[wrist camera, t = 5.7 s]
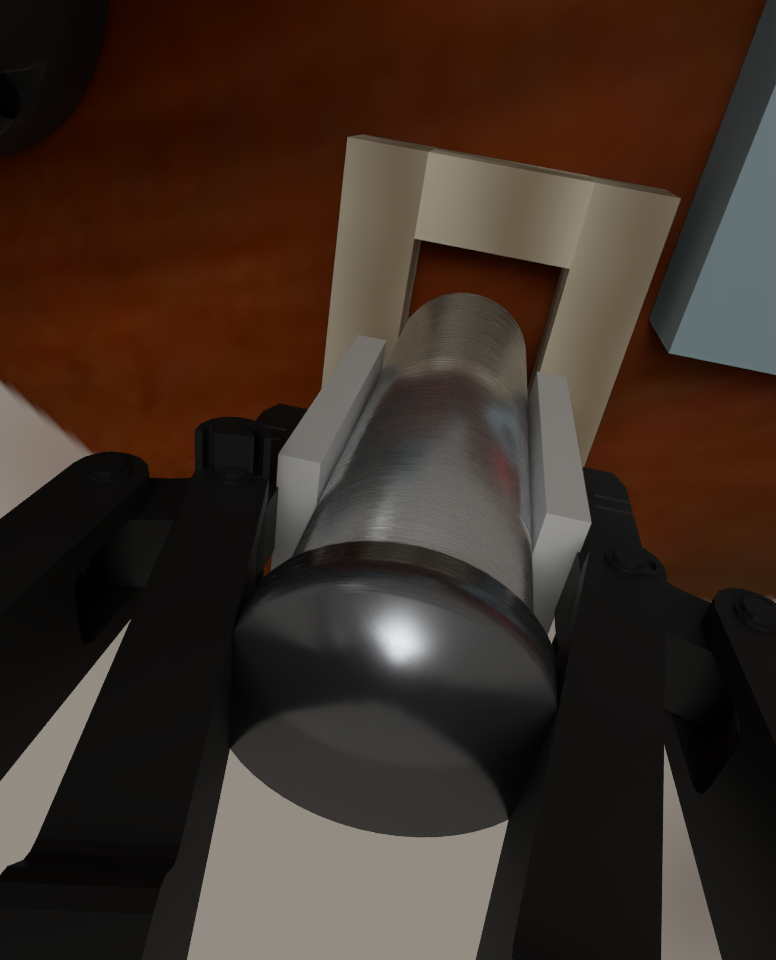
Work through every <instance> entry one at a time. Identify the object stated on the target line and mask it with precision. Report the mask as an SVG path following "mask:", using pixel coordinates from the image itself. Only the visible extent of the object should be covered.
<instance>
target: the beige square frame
mask: <svg viewBox="0 0 776 960" xmlns="http://www.w3.org/2000/svg"><path fill="white" fill-rule="evenodd" d="M680 200H681V198H679V197H678V196H676V195H674V194H672V193H671V192H669V191H667V190H664V189H659V188H654V187H648V186H643V185H637V184H632V183H626V182H621V181H615V180H610V179H605V178H599V177H594V176H588V175H583V174H577V173H572V172H566V171H561V170H556V169H550V168H545V167H539V166H534V165H528V164H523V163H517V162H512V161H507V160H501V159H496V158H490V157H485V156H479V155H474V154H468V153H463V152H458V151H452V150H447V149H441V148H436V147H430V146H425V145H419V144H414V143H409V142H403V141H398V140H392V139H387V138H381V137H376V136H370V135H365V134H362V135H356V136H351V137H348V138H347V148H346V157H345V167H344V177H343V186H342V196H341V206H340V215H339V225H338V234H337V244H336V254H335V263H334V273H333V283H332V292H331V302H330V312H329V321H328V331H327V341H326V350H325V360H324V370H323V379H322V388H323V386H324V385H325V383H326V382H327V380H328V379H329V377H330V376H331V374H332V373H333V371H334V370H335V368H336V367H337V365H338V364H339V362H340V361H341V359H342V358H343V356H344V355H345V353H346V352H347V350H348V349H349V347H350V346H351V344H352V343H353V341H354V340H355V338H356V337H357V335H362V336H367V337H372V338H377V339H382V340H386V347H385V353H384V360H383V366H382V371H383V369H384V367H385V365H386V363H387V361H388V359H389V357H390V355H391V353H392V351H393V349H394V347H395V345H396V343H397V341H398V339H399V337H400V335H401V332H402V330H403V328H404V327H405V325H406V323H407V321H408V316H409V310H410V304H411V298H412V292H413V286H414V280H415V275H416V269H417V263H418V257H419V251H420V245H421V240H424V241H429V242H435V243H440V244H445V245H450V246H455V247H460V248H465V249H470V250H476V251H481V252H486V253H491V254H496V255H501V256H506V257H511V258H517V259H522V260H527V261H532V262H537V263H542V264H547V265H552V266H558V267H562V269H561V273H560V276H559V280H558V283H557V287H556V290H555V294H554V297H553V301H552V304H551V308H550V311H549V315H548V318H547V322H546V325H545V329H544V332H543V336H542V339H541V343H540V346H539V350H538V353H537V357H536V360H535V364H534V367H533V371H532V374H531V378H530V381H529V385H528V388H527V403H528V401H529V398H530V394H531V391H532V387H533V384H534V381H535V377H536V374H537V371H538V372H543V373H548V374H552V375H557V376H562V377H567V382H568V388H569V394H570V400H571V405H572V411H573V417H574V423H575V429H576V435H577V441H578V447H579V452H580V458H581V464H582V467H584V465H585V463H586V460H587V457H588V454H589V452H590V449H591V446H592V443H593V441H594V438H595V435H596V432H597V430H598V427H599V424H600V421H601V418H602V416H603V413H604V410H605V407H606V405H607V402H608V399H609V396H610V394H611V391H612V388H613V385H614V382H615V380H616V377H617V374H618V371H619V369H620V366H621V363H622V360H623V358H624V355H625V352H626V349H627V346H628V344H629V341H630V338H631V335H632V333H633V330H634V327H635V324H636V322H637V319H638V316H639V313H640V310H641V308H642V305H643V302H644V299H645V297H646V294H647V291H648V288H649V286H650V283H651V280H652V277H653V274H654V272H655V269H656V266H657V263H658V261H659V258H660V255H661V252H662V250H663V247H664V244H665V241H666V239H667V236H668V233H669V230H670V227H671V225H672V222H673V219H674V216H675V214H676V211H677V208H678V205H679V203H680Z"/></svg>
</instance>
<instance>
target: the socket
mask: <svg viewBox="0 0 776 960" xmlns="http://www.w3.org/2000/svg"><path fill="white" fill-rule="evenodd" d="M649 321H650V323H651V324H652V326H653V328H654V329H655V331H656V333H657V334H658V336H659V338H660V340H661V341H662V343H663V345H664V346H665V348H666V350H667V351H668V353H670V354H675V355H680V356H685V357H690V358H695V359H700V360H705V361H710V362H715V363H720V364H725V365H730V366H734V367H739V368H744V369H749V370H754V371H759V372H764V373H769V374H774V375H776V0H767V1H766V4H765V7H764V9H763V12H762V15H761V17H760V20H759V23H758V25H757V28H756V31H755V34H754V36H753V39H752V42H751V44H750V47H749V50H748V52H747V55H746V58H745V61H744V63H743V66H742V69H741V71H740V74H739V77H738V79H737V82H736V85H735V88H734V90H733V93H732V96H731V98H730V101H729V104H728V106H727V109H726V112H725V114H724V117H723V120H722V123H721V125H720V128H719V131H718V133H717V136H716V139H715V141H714V144H713V147H712V150H711V152H710V155H709V158H708V160H707V163H706V166H705V168H704V171H703V174H702V177H701V179H700V182H699V185H698V187H697V190H696V193H695V195H694V198H693V201H692V204H691V206H690V209H689V212H688V214H687V217H686V220H685V222H684V225H683V228H682V230H681V233H680V236H679V239H678V241H677V244H676V247H675V249H674V252H673V255H672V257H671V260H670V263H669V266H668V268H667V271H666V274H665V276H664V279H663V282H662V284H661V287H660V290H659V293H658V295H657V298H656V301H655V303H654V306H653V309H652V311H651V314H650V317H649Z"/></svg>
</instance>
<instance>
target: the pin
mask: <svg viewBox="0 0 776 960" xmlns="http://www.w3.org/2000/svg"><path fill="white" fill-rule="evenodd" d="M558 693H559V677H558V665H557V661H556V657H555V653H554V649H553V647H552V644H551V642H550V640H549V638H548V635H547V633H546V631H545V630H544V628H543V627H542V625H541V624H540V622H539V621H538V619H537V617H536V616H535V615H534V600H533V567H532V534H531V501H530V469H529V436H528V403H527V370H526V347H525V342H524V337H523V335H522V332H521V329H520V328H519V326H518V324H517V322H516V321H515V319H514V318H513V317H512V315H511V314H510V313H509V312H508V311H507V310H506V309H505V308H503V307H502V306H501V305H499V304H498V303H496V302H494V301H493V300H491V299H489V298H486V297H484V296H480V295H477V294H471V293H452V294H447V295H443V296H440V297H437V298H435V299H432V300H431V301H429V302H427V303H425V304H424V305H423V306H421V307H420V308H419V309H418V310H417V311H416V312H415V313H414V314H413V315H412V316H411V317H410V319H409V320H408V321H407V323H406V325H405V327H404V328H403V330H402V332H401V335H400V337H399V339H398V341H397V343H396V345H395V347H394V349H393V351H392V353H391V355H390V357H389V359H388V361H387V363H386V365H385V367H384V369H383V371H382V373H381V375H380V377H379V379H378V381H377V383H376V385H375V388H374V390H373V392H372V394H371V396H370V398H369V400H368V402H367V404H366V406H365V408H364V410H363V412H362V414H361V416H360V418H359V420H358V422H357V424H356V426H355V428H354V430H353V432H352V434H351V436H350V438H349V441H348V443H347V445H346V447H345V449H344V451H343V453H342V455H341V457H340V459H339V461H338V463H337V465H336V467H335V469H334V471H333V473H332V475H331V477H330V479H329V481H328V483H327V485H326V487H325V489H324V491H323V494H322V496H321V498H320V500H319V502H318V504H317V506H316V508H315V510H314V512H313V514H312V516H311V518H310V520H309V522H308V524H307V526H306V528H305V530H304V532H303V534H302V536H301V538H300V540H299V542H298V544H297V547H296V549H295V551H294V553H293V555H292V557H291V558H290V559H288V560H287V561H285V562H283V563H282V564H280V565H279V566H277V567H276V568H274V569H273V570H272V571H270V572H269V573H268V574H267V575H266V576H265V577H264V578H262V579H261V580H260V582H259V583H258V584H257V585H256V587H255V588H254V589H253V590H252V591H251V593H250V595H249V596H248V598H247V600H246V602H245V604H244V606H243V608H242V610H241V612H240V614H239V617H238V620H237V622H236V625H235V628H234V630H233V636H232V674H231V713H230V749H231V750H232V751H233V753H234V754H235V755H236V757H237V758H238V759H239V760H240V762H241V763H243V765H244V766H246V768H247V769H248V770H249V771H250V772H251V773H252V774H253V775H255V776H256V777H257V778H258V779H259V780H261V781H262V782H263V783H264V784H266V785H267V786H268V787H269V788H271V789H272V790H274V791H275V792H277V793H278V794H280V795H281V796H283V797H284V798H286V799H288V800H289V801H291V802H293V803H295V804H296V805H298V806H300V807H302V808H304V809H306V810H308V811H310V812H312V813H315V814H317V815H319V816H321V817H324V818H327V819H329V820H332V821H335V822H337V823H340V824H344V825H347V826H350V827H354V828H357V829H361V830H366V831H371V832H375V833H381V834H388V835H395V836H407V837H442V836H452V835H460V834H465V833H470V832H475V831H479V830H482V829H485V828H489V827H492V826H495V825H497V824H499V823H502V822H504V821H506V820H509V818H510V816H511V814H512V811H513V809H514V807H515V805H516V803H517V800H518V798H519V796H520V794H521V791H522V789H523V787H524V785H525V782H526V780H527V778H528V776H529V773H530V771H531V769H532V767H533V764H534V762H535V760H536V758H537V755H538V753H539V751H540V749H541V746H542V744H543V742H544V740H545V737H546V735H547V733H548V731H549V728H550V726H551V724H552V722H553V719H554V717H555V715H556V713H557V709H558Z"/></svg>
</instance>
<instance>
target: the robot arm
mask: <svg viewBox="0 0 776 960" xmlns="http://www.w3.org/2000/svg"><path fill="white" fill-rule="evenodd" d="M107 12H108V0H0V158H3V157H7V156H11V155H14V154H17V153H20V152H22V151H24V150H27V149H29V148H31V147H33V146H34V145H36V144H38V143H39V142H41V141H43V140H44V139H45V138H47V137H48V136H49V135H50V134H52V133H53V132H54V131H55V130H56V129H57V128H58V127H59V126H60V125H61V124H62V123H63V122H64V121H65V120H66V118H67V117H68V116H69V115H70V114H71V112H72V111H73V109H74V108H75V107H76V105H77V104H78V102H79V100H80V99H81V97H82V95H83V93H84V92H85V90H86V88H87V86H88V83H89V81H90V79H91V77H92V74H93V71H94V69H95V66H96V63H97V60H98V57H99V53H100V50H101V46H102V41H103V37H104V32H105V26H106V19H107ZM385 347H386V340H382V339H377V338H372V337H367V336H362V335H357V337H356V338H355V340H354V341H353V343H352V344H351V346H350V347H349V349H348V350H347V352H346V353H345V355H344V356H343V358H342V359H341V361H340V362H339V364H338V365H337V367H336V368H335V370H334V371H333V373H332V374H331V376H330V377H329V379H328V380H327V382H326V383H325V385H324V386H323V388H322V389H321V391H320V392H319V394H318V395H317V397H316V398H315V400H314V401H313V403H312V404H311V406H310V407H309V409H308V410H307V409H302V408H298V407H293V406H288V405H284V404H278V405H276V406H273V407H271V408H269V409H267V410H265V411H263V412H262V413H261V415H260V416H259V417H258V418H257V420H256V421H254V420H250V419H245V418H241V417H221V418H215V419H211V420H208V421H206V422H204V423H201V424H200V425H199V426H198V427H197V428H196V429H195V472H194V475H193V477H191V478H181V479H166V478H149V471H148V465H147V464H146V463H145V462H144V461H143V460H142V459H141V458H139V457H136V456H134V455H131V454H127V453H119V452H101V453H97V454H93V455H89V456H86V457H84V458H82V459H80V460H78V461H76V462H74V463H73V464H72V465H70V466H69V467H68V468H66V469H65V470H64V471H62V472H61V473H60V474H58V475H57V476H56V477H54V478H53V479H52V480H51V481H49V482H48V483H47V484H45V485H44V486H43V487H41V488H40V489H39V490H37V491H36V492H35V493H34V494H32V495H31V496H30V497H28V498H27V499H26V500H24V501H23V502H22V503H20V504H19V505H18V506H17V507H15V508H14V509H13V510H11V511H10V512H9V513H7V514H6V515H5V516H3V517H2V518H1V519H0V781H1V779H2V778H3V777H4V776H5V775H6V773H7V772H8V771H9V770H10V768H11V767H12V766H13V765H14V763H15V762H16V761H17V760H18V758H19V757H20V756H21V754H22V753H23V752H24V751H25V750H26V748H27V747H28V746H29V745H30V743H31V742H32V741H33V740H34V738H35V737H36V736H37V735H38V733H39V732H40V731H41V730H42V729H43V727H44V726H45V725H46V723H47V722H48V721H49V720H50V719H51V717H52V716H53V715H54V714H55V712H56V711H57V710H58V709H59V707H60V706H61V705H62V704H63V702H64V701H65V700H66V699H67V697H68V696H69V695H70V694H71V693H72V691H73V690H74V689H75V688H76V686H77V685H78V684H79V683H80V681H81V680H82V679H83V677H84V676H85V675H86V674H87V673H88V671H89V670H90V669H91V668H92V666H93V665H94V664H95V663H96V661H97V660H98V659H99V658H100V656H101V655H102V654H103V653H104V652H105V650H106V649H107V648H108V647H109V645H110V644H111V643H112V642H113V640H114V639H115V638H116V637H117V635H118V634H119V633H120V632H121V630H122V629H123V628H124V627H125V625H126V624H127V623H128V622H129V620H130V619H131V621H130V623H129V625H128V628H127V630H126V632H125V635H124V637H123V639H122V642H121V644H120V646H119V649H118V651H117V654H116V656H115V658H114V660H113V663H112V665H111V667H110V670H109V672H108V674H107V677H106V679H105V681H104V683H103V686H102V688H101V690H100V693H99V695H98V697H97V700H96V702H95V704H94V707H93V709H92V711H91V714H90V716H89V719H88V721H87V723H86V725H85V728H84V730H83V732H82V735H81V737H80V739H79V742H78V744H77V746H76V748H75V751H74V753H73V755H72V758H71V760H70V762H69V765H68V767H67V770H66V772H65V774H64V776H63V779H62V781H61V784H60V786H59V788H58V791H57V793H56V795H55V797H54V800H53V802H52V804H51V806H50V809H49V811H48V814H47V816H46V818H45V821H44V823H43V825H42V827H41V830H40V832H39V834H38V837H37V839H36V841H35V843H34V845H33V847H32V849H31V851H30V852H29V853H28V855H27V856H26V857H25V859H24V860H22V861H20V862H17V863H15V864H12V865H9V866H7V868H6V869H5V870H4V871H3V872H2V874H1V875H0V960H187V956H188V951H189V946H190V941H191V936H192V932H193V927H194V922H195V917H196V912H197V907H198V902H199V897H200V892H201V887H202V883H203V877H204V873H205V868H206V863H207V858H208V853H209V848H210V843H211V838H212V833H213V828H214V823H215V818H216V814H217V809H218V804H219V799H220V793H221V789H222V784H223V779H224V774H225V770H226V764H227V760H228V755H229V750H230V713H231V674H232V636H233V630H234V628H235V625H236V622H237V620H238V617H239V614H240V612H241V610H242V608H243V606H244V604H245V602H246V600H247V598H248V596H249V595H250V593H251V591H252V590H253V589H254V588H255V587H256V585H257V584H258V583H259V582H260V580H261V579H262V578H263V576H264V567H265V565H266V563H267V561H268V559H269V558H270V556H271V554H272V559H271V571H272V570H273V569H274V568H276V567H277V566H279V565H280V564H282V563H283V562H285V561H287V560H288V559H290V558H291V557H292V555H293V553H294V551H295V549H296V547H297V544H298V542H299V540H300V538H301V536H302V534H303V532H304V530H305V528H306V526H307V524H308V522H309V520H310V518H311V516H312V514H313V512H314V510H315V508H316V506H317V504H318V502H319V500H320V498H321V496H322V494H323V491H324V489H325V487H326V485H327V483H328V481H329V479H330V477H331V475H332V473H333V471H334V469H335V467H336V465H337V463H338V461H339V459H340V457H341V455H342V453H343V451H344V449H345V447H346V445H347V443H348V441H349V438H350V436H351V434H352V432H353V430H354V428H355V426H356V424H357V422H358V420H359V418H360V416H361V414H362V412H363V410H364V408H365V406H366V404H367V402H368V400H369V398H370V396H371V394H372V392H373V390H374V388H375V385H376V383H377V381H378V379H379V377H380V375H381V373H382V366H383V360H384V353H385ZM528 436H529V469H530V501H531V534H532V567H533V600H534V615H535V616H536V617H537V619H538V621H539V622H540V624H541V625H542V627H543V628H544V630H545V631H546V633H547V635H548V632H549V630H550V627H551V624H552V622H553V620H554V617H555V630H556V634H555V637H554V639H553V642H552V647H553V649H554V653H555V657H556V661H557V665H558V677H559V693H558V709H557V713H556V715H555V717H554V719H553V722H552V724H551V726H550V728H549V731H548V733H547V735H546V737H545V740H544V742H543V744H542V746H541V749H540V751H539V753H538V755H537V758H536V760H535V762H534V764H533V767H532V769H531V771H530V773H529V776H528V778H527V780H526V782H525V785H524V787H523V789H522V791H521V794H520V796H519V798H518V800H517V803H516V805H515V807H514V809H513V811H512V814H511V816H510V818H509V821H508V825H507V829H506V834H505V838H504V842H503V846H502V850H501V855H500V859H499V863H498V867H497V872H496V876H495V880H494V885H493V889H492V893H491V897H490V901H489V906H488V910H487V915H486V919H485V923H484V927H483V931H482V935H481V940H480V944H479V948H478V952H477V957H476V960H661V923H662V922H661V921H662V919H661V918H662V853H663V849H662V848H663V782H664V780H663V779H664V775H663V774H664V745H665V749H666V752H667V756H668V760H669V763H670V767H671V771H672V775H673V779H674V782H675V786H676V789H677V793H678V797H679V801H680V805H681V808H682V812H683V816H684V820H685V823H686V827H687V831H688V834H689V838H690V842H691V846H692V849H693V853H694V857H695V861H696V864H697V868H698V872H699V875H700V879H701V882H702V887H703V890H704V894H705V897H706V902H707V905H708V909H709V913H710V916H711V920H712V923H713V927H714V931H715V935H716V939H717V943H718V946H719V950H720V954H721V957H722V960H776V603H775V602H774V601H772V600H770V599H769V598H765V596H763V595H760V594H758V593H754V592H751V591H748V590H744V589H736V588H727V589H724V590H720V591H718V593H717V594H716V596H715V597H714V599H713V600H712V602H711V603H710V602H707V601H705V600H703V599H700V598H698V597H696V596H693V595H691V594H689V593H686V592H684V591H682V590H680V589H678V588H676V587H674V586H672V585H671V584H669V583H668V582H666V572H665V569H664V566H663V565H662V563H661V562H660V561H659V560H658V559H657V558H656V556H654V555H653V554H651V553H650V552H649V551H647V550H646V549H644V548H643V547H642V545H641V541H640V538H639V534H638V530H637V527H636V523H635V519H634V516H632V514H633V512H632V508H631V505H630V504H629V502H630V501H629V497H628V494H627V490H626V487H625V486H624V485H623V484H622V483H621V482H620V481H619V480H618V478H617V477H616V476H615V475H614V474H613V473H609V472H604V471H599V470H595V469H590V468H585V467H582V464H581V458H580V452H579V447H578V441H577V435H576V429H575V423H574V417H573V411H572V405H571V400H570V394H569V388H568V382H567V377H562V376H557V375H552V374H548V373H543V372H538V371H537V374H536V377H535V381H534V384H533V387H532V391H531V394H530V398H529V401H528Z"/></svg>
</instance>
